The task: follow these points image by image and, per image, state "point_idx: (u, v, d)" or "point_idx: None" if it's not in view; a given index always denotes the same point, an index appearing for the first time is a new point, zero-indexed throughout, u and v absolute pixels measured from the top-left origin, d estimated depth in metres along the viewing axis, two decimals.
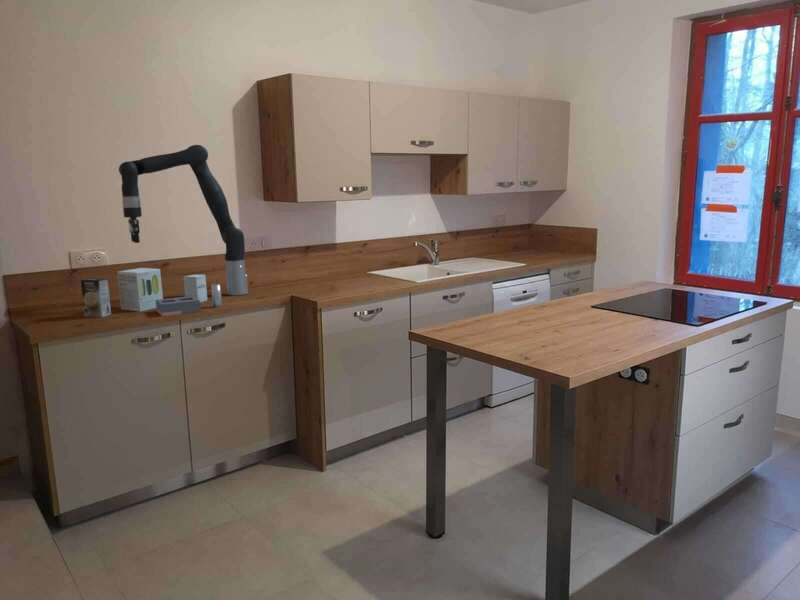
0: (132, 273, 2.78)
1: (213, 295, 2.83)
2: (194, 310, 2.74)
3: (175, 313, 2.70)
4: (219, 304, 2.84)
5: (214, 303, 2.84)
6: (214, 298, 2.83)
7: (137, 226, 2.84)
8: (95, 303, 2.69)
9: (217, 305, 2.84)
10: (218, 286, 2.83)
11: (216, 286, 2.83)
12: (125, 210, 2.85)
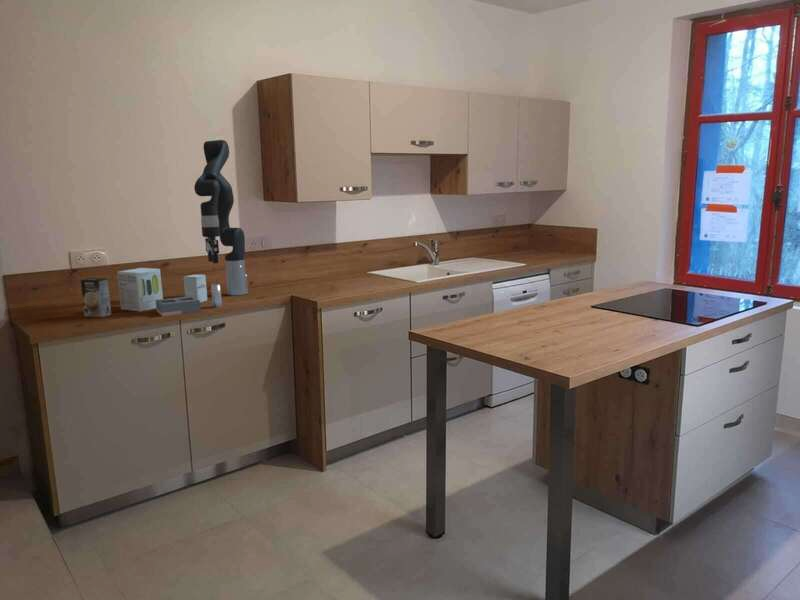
0: (132, 273, 2.78)
1: (213, 295, 2.83)
2: (194, 310, 2.74)
3: (175, 313, 2.70)
4: (219, 304, 2.84)
5: (214, 303, 2.84)
6: (214, 298, 2.83)
7: (217, 246, 2.75)
8: (95, 303, 2.69)
9: (217, 305, 2.84)
10: (218, 286, 2.83)
11: (216, 286, 2.83)
12: (204, 230, 2.77)
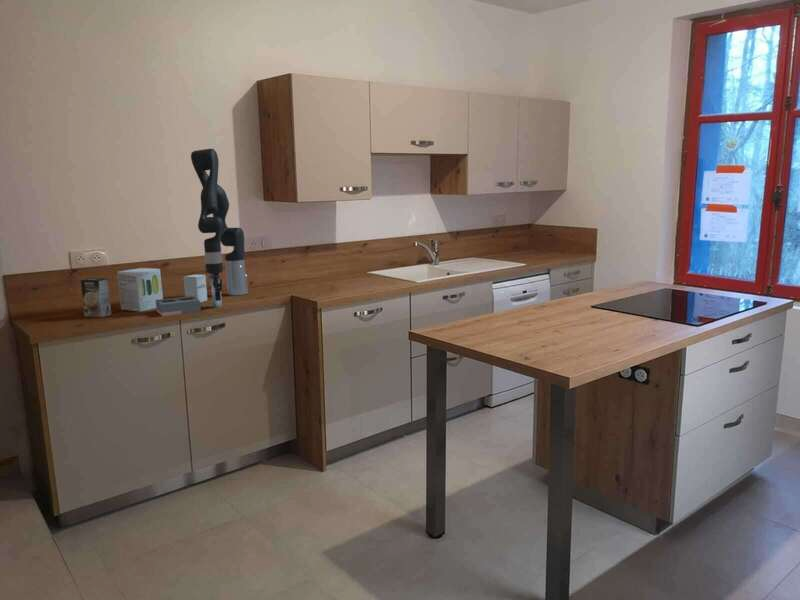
0: (132, 273, 2.78)
1: (213, 295, 2.83)
2: (194, 310, 2.74)
3: (175, 313, 2.70)
4: (219, 304, 2.84)
5: (214, 303, 2.84)
6: (214, 298, 2.83)
7: (220, 285, 2.79)
8: (95, 303, 2.69)
9: (217, 305, 2.84)
10: None
11: None
12: (208, 266, 2.79)
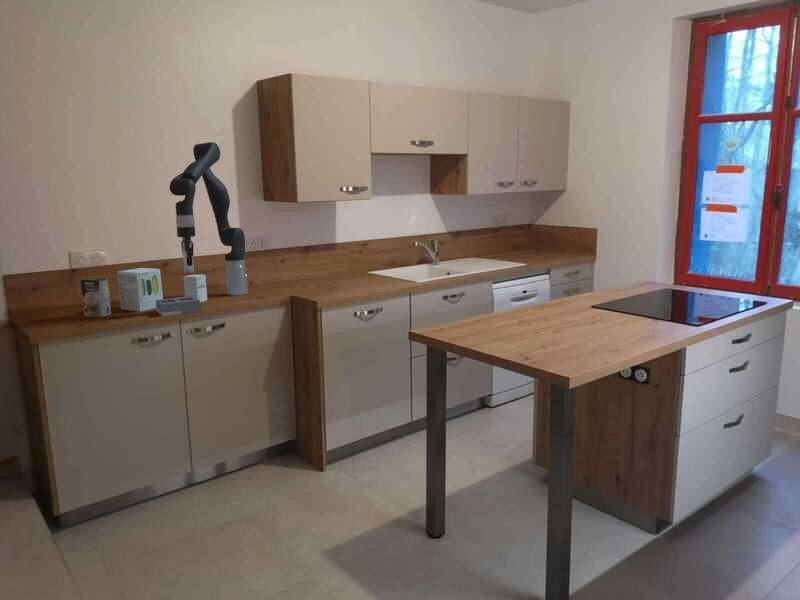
0: (132, 273, 2.78)
1: (185, 260, 2.74)
2: (194, 310, 2.74)
3: (175, 313, 2.70)
4: (191, 270, 2.75)
5: (186, 268, 2.75)
6: (186, 263, 2.75)
7: (191, 249, 2.71)
8: (95, 303, 2.69)
9: (189, 270, 2.75)
10: None
11: None
12: (179, 229, 2.71)
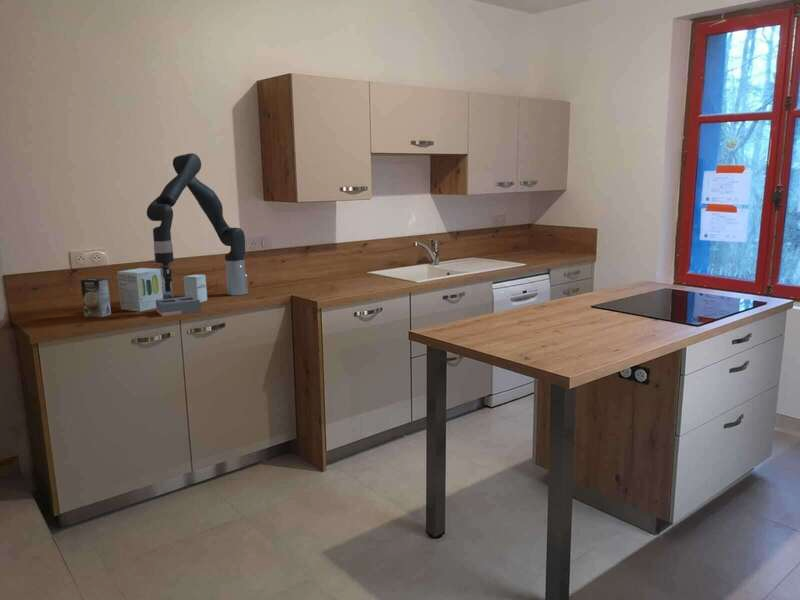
0: (132, 273, 2.78)
1: (163, 286, 2.72)
2: (194, 310, 2.74)
3: (175, 313, 2.70)
4: (169, 295, 2.73)
5: (164, 294, 2.73)
6: (164, 289, 2.72)
7: (169, 276, 2.68)
8: (95, 303, 2.69)
9: (167, 296, 2.73)
10: None
11: None
12: (157, 255, 2.68)
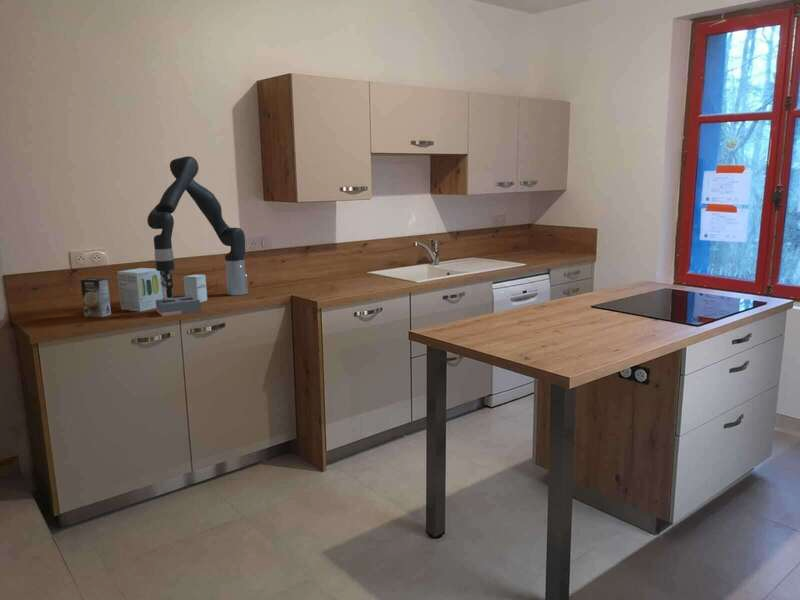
0: (132, 273, 2.78)
1: (164, 297, 2.73)
2: (194, 310, 2.74)
3: (175, 313, 2.70)
4: None
5: None
6: (165, 300, 2.73)
7: (170, 281, 2.68)
8: (95, 303, 2.69)
9: None
10: None
11: None
12: (157, 263, 2.69)
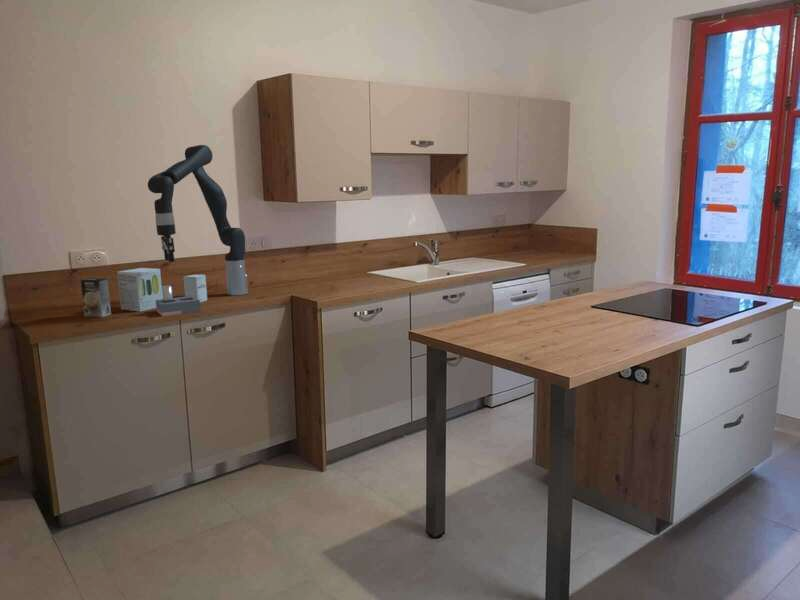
0: (132, 273, 2.78)
1: (164, 297, 2.73)
2: (194, 310, 2.74)
3: (175, 313, 2.70)
4: None
5: None
6: (165, 300, 2.73)
7: (172, 245, 2.68)
8: (95, 303, 2.69)
9: None
10: (169, 288, 2.73)
11: (167, 287, 2.72)
12: (159, 228, 2.69)
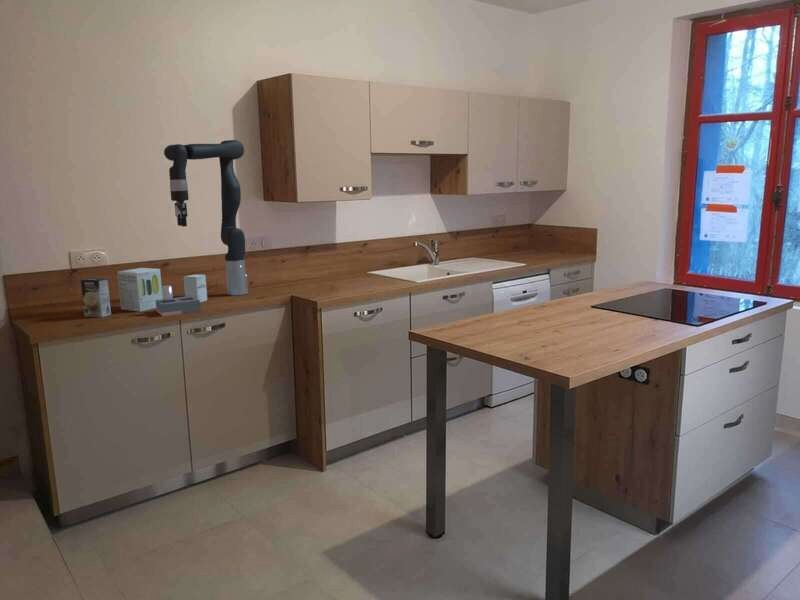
0: (132, 273, 2.78)
1: (164, 297, 2.73)
2: (194, 310, 2.74)
3: (175, 313, 2.70)
4: None
5: None
6: (165, 300, 2.73)
7: (185, 209, 2.82)
8: (95, 303, 2.69)
9: None
10: (169, 288, 2.73)
11: (167, 288, 2.72)
12: (173, 193, 2.83)
